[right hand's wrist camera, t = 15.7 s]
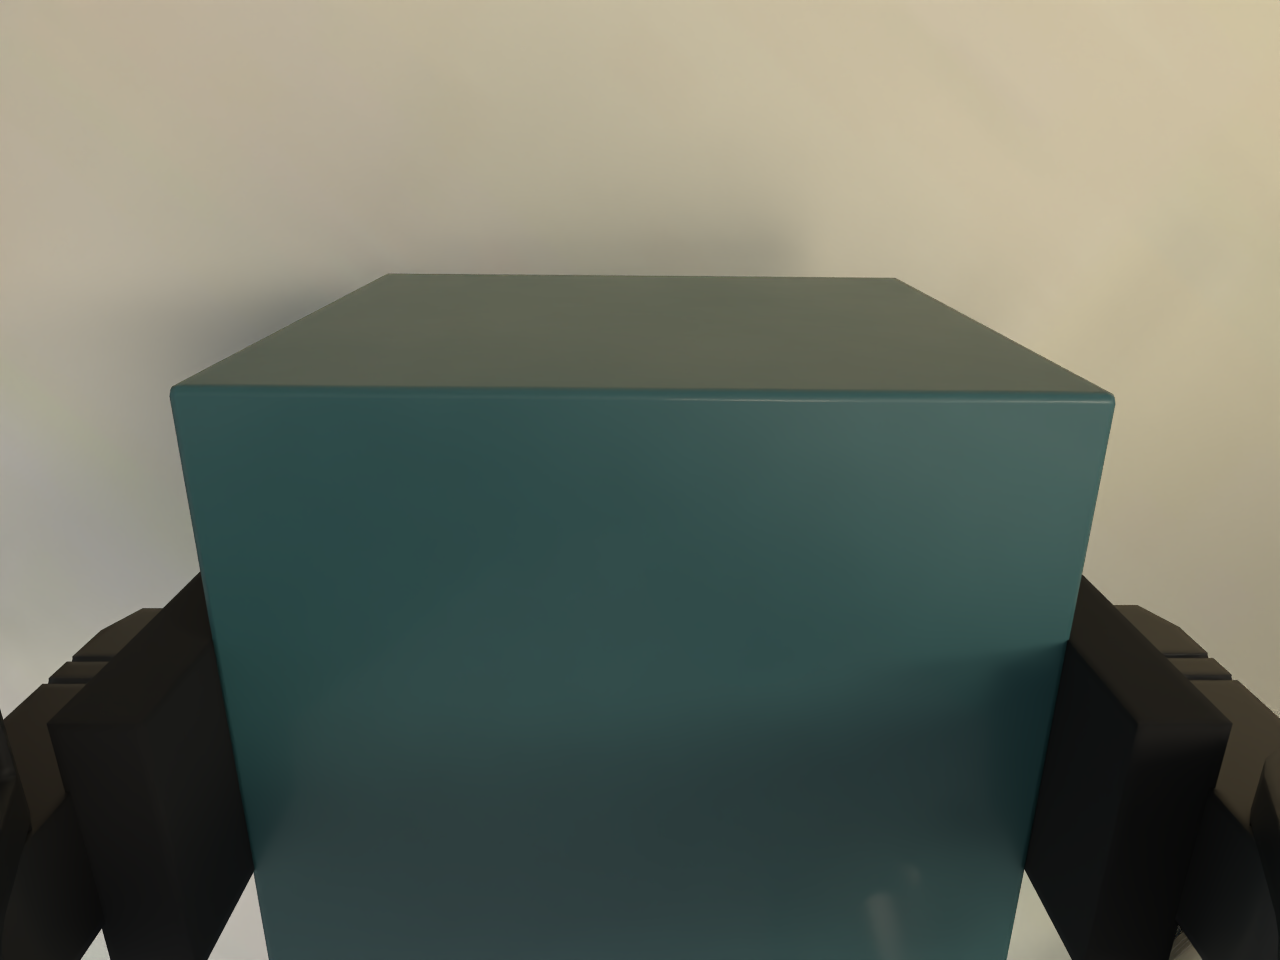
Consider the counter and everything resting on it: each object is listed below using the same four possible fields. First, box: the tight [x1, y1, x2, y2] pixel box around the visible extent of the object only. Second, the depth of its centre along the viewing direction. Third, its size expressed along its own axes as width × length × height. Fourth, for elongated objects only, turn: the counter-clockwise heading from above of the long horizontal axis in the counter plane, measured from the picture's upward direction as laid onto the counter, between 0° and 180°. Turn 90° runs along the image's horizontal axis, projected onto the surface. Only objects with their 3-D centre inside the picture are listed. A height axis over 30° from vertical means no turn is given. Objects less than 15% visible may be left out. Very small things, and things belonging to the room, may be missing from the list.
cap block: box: [170, 274, 1115, 960], centre depth 12 cm, size 7×8×7 cm
